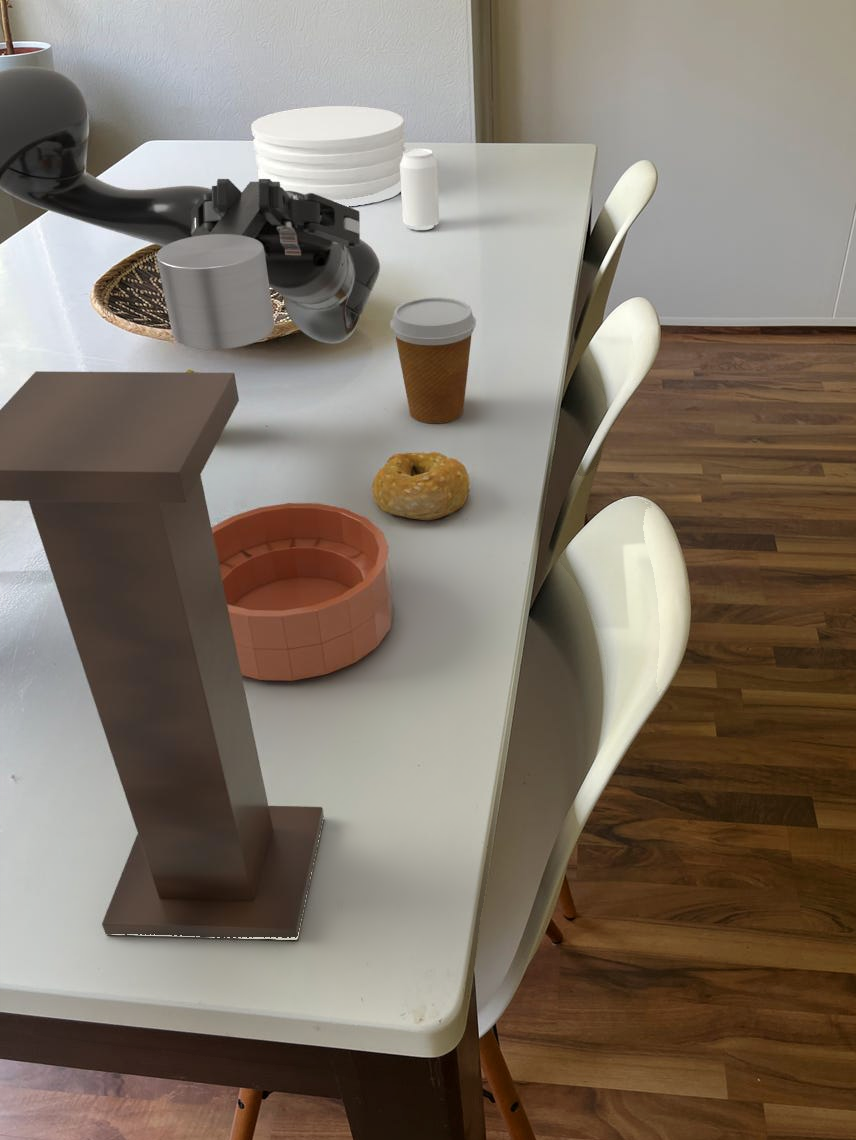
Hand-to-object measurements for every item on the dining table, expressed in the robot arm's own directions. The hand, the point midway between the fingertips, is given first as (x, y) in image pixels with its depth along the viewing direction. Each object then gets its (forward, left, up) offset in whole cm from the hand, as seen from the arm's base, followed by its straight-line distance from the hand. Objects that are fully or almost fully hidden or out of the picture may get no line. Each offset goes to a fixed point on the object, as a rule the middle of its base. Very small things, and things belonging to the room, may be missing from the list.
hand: (242, 194), depth 69 cm
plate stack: (-18, +134, -34) cm, 140 cm away
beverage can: (+1, +109, -34) cm, 114 cm away
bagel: (+9, +18, -34) cm, 40 cm away
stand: (0, -30, -34) cm, 45 cm away
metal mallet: (0, -3, -6) cm, 6 cm away
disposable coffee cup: (+9, +38, -34) cm, 52 cm away
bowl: (0, -3, -34) cm, 34 cm away
